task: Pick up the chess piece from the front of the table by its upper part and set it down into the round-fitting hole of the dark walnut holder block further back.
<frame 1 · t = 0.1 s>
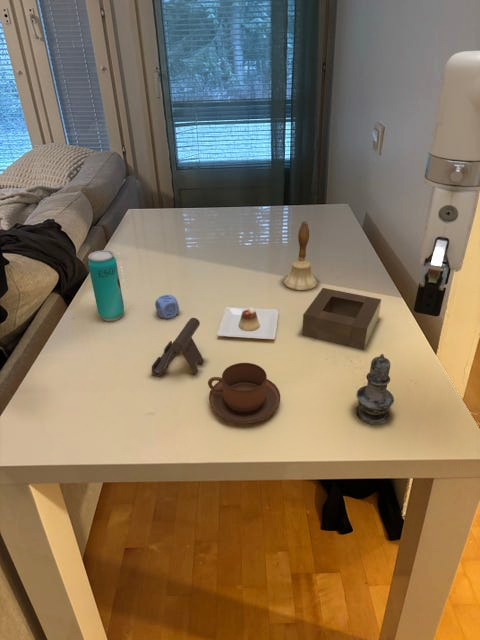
hand: (431, 297, 64), 22 cm above the table, tool pointing down, fingers open, 9 cm apart
tablet stand: (181, 365, 89), on the table
cup and saucer: (244, 405, 79), on the table
decorative dice: (168, 315, 106), on the table
dessert: (249, 327, 101), on the table
holder: (341, 326, 100), on the table
beverage can: (112, 317, 105), on the table
chess piece: (372, 414, 77), on the table
hand bell: (300, 283, 118), on the table
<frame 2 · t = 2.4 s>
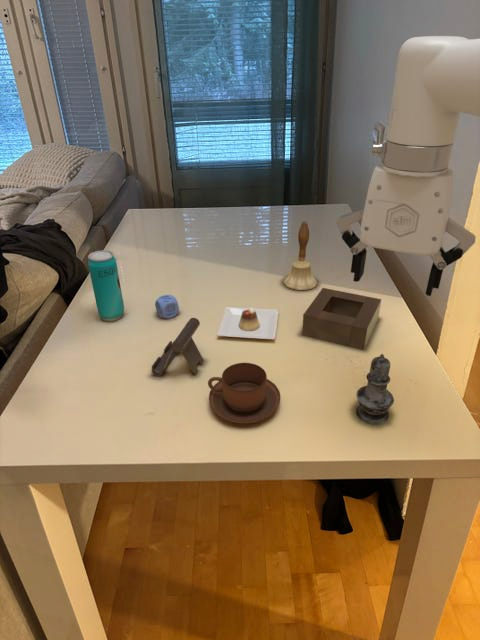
hand: (392, 284, 65), 24 cm above the table, tool pointing down, fingers open, 9 cm apart
nothing on the table moved.
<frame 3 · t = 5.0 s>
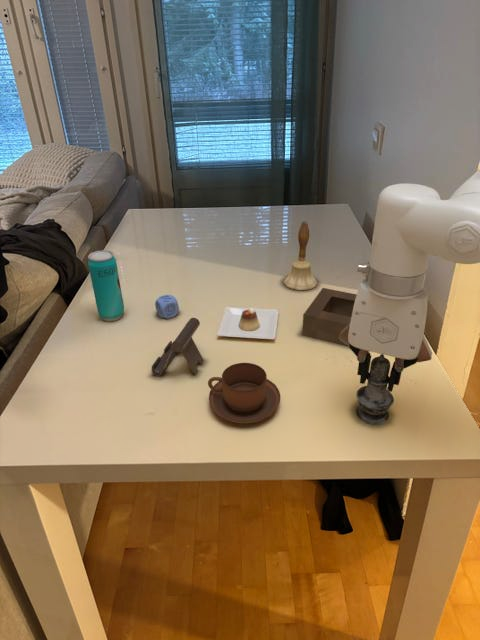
hand: (377, 381, 73), 7 cm above the table, tool pointing down, fingers closed on chess piece, 3 cm apart
chess piece: (372, 414, 77), on the table, touching gripper
everything else where it was.
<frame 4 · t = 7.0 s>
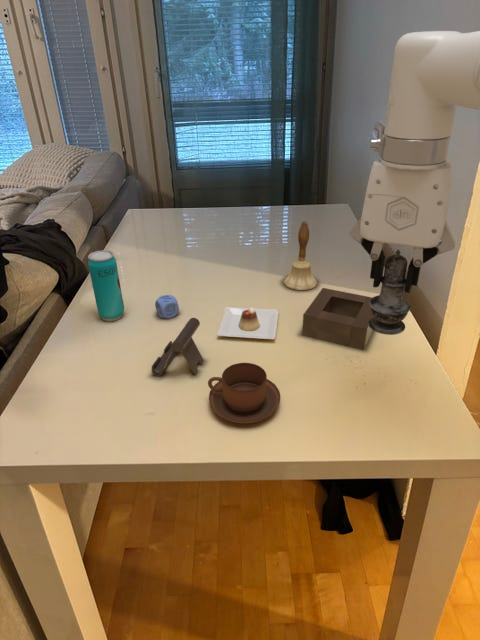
hand: (392, 284, 66), 23 cm above the table, tool pointing down, fingers closed on chess piece, 3 cm apart
chess piece: (386, 326, 69), point 16 cm above the table, touching gripper
everything else where it was.
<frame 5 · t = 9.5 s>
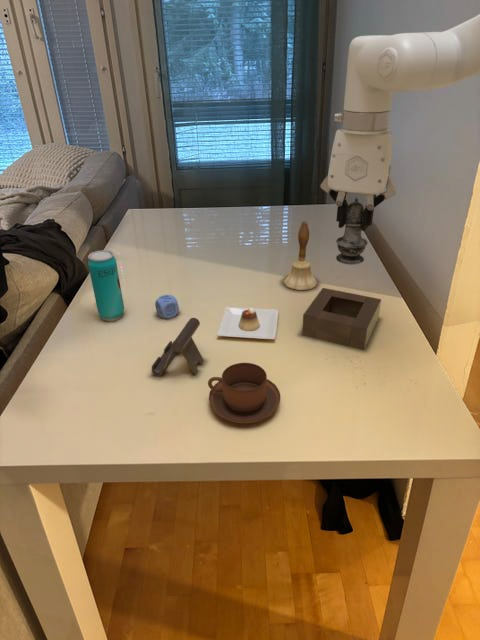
hand: (353, 226, 87), 23 cm above the table, tool pointing down, fingers closed on chess piece, 3 cm apart
chess piece: (349, 259, 91), point 16 cm above the table, touching gripper
everything else where it was.
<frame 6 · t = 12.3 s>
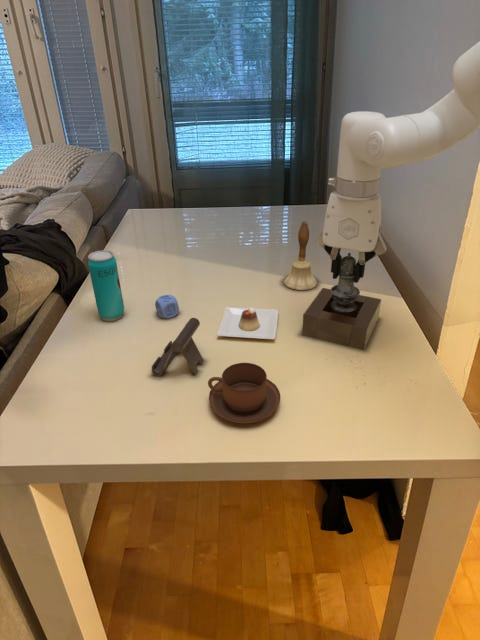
hand: (346, 277, 94), 12 cm above the table, tool pointing down, fingers closed on chess piece, 3 cm apart
chess piece: (343, 306, 97), point 5 cm above the table, touching gripper
everything else where it was.
when the fingers open (7 cm above the table, at t = 14.1 s): chess piece stays where it is, resting in holder.
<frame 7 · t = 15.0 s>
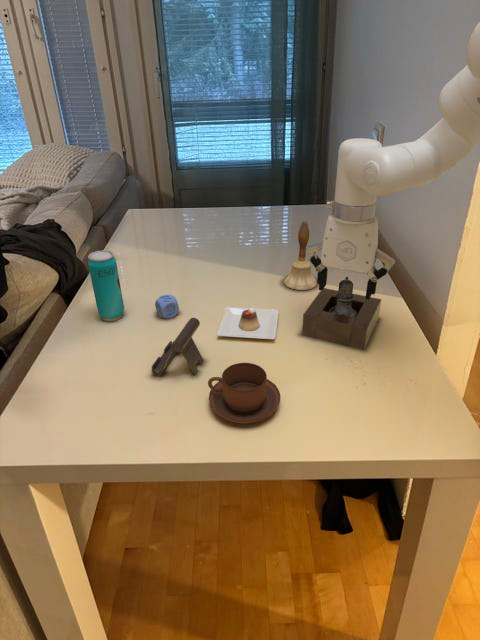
hand: (345, 291, 95), 8 cm above the table, tool pointing down, fingers open, 9 cm apart
chess piece: (341, 327, 100), resting in holder
everything else where it was.
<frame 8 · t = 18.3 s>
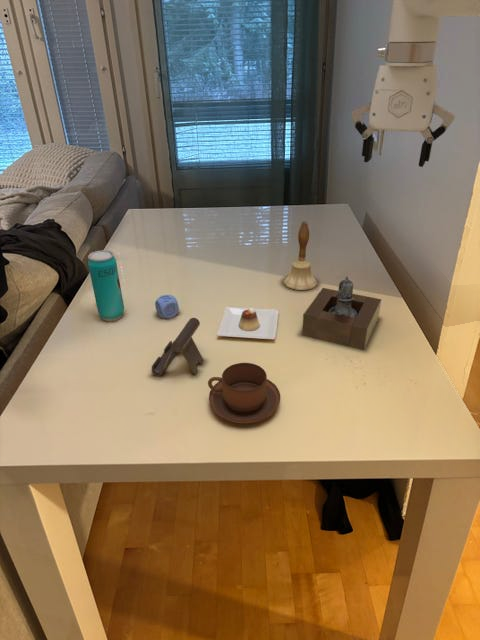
hand: (394, 162, 85), 33 cm above the table, tool pointing down, fingers open, 9 cm apart
nothing on the table moved.
at the end: chess piece 0.1 cm off-centre in the holder, point 0.0 cm above the holder's base; chess piece tilted 0°; the gripper is holding nothing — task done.
